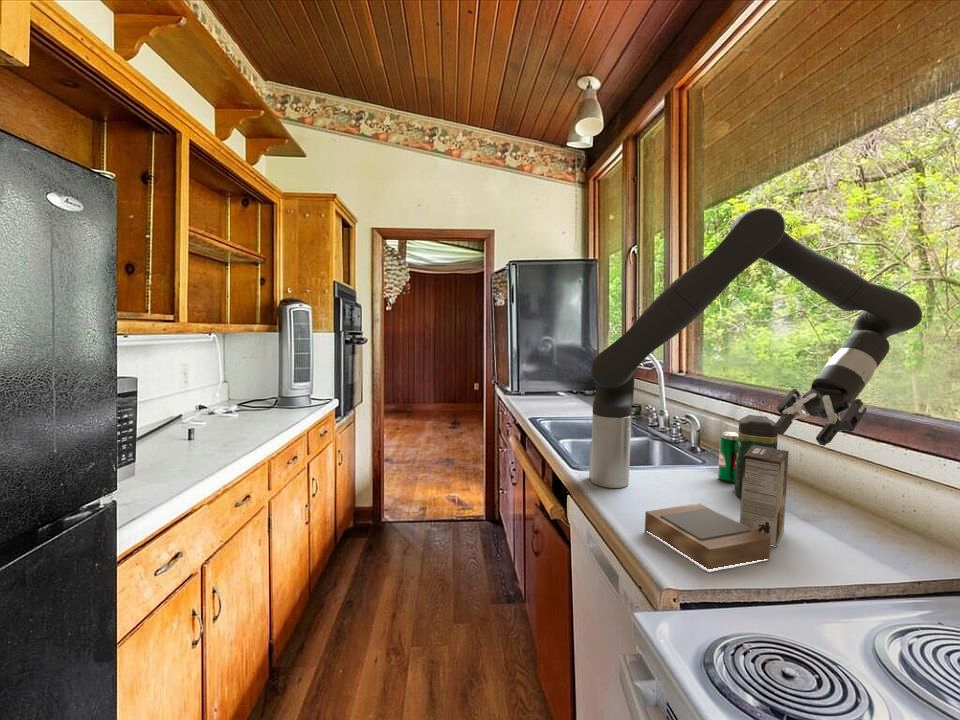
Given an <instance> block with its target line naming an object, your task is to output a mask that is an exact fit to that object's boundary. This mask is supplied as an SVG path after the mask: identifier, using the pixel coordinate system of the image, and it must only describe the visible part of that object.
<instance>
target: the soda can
mask: <svg viewBox="0 0 960 720" xmlns="http://www.w3.org/2000/svg"><path fill="white" fill-rule="evenodd" d="M737 447H738V432H734V431H724V432H722V433H721V435H720V437H719V450H718V451H719V454H718V467H717V468H718V472H717V473H718V474H717V477H718V479H719V480H721V482H725V483H731V484H735V476H736V462H737Z"/></svg>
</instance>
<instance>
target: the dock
mask: <svg viewBox="0 0 960 720" xmlns="http://www.w3.org/2000/svg"><path fill="white" fill-rule="evenodd" d="M644 520H645V523H644V531H645V530H646V531H648V532H650V533H652V534H653V535H655V536H657V537H659V538H660V539H662V540H663V541H665V542H667V543H668V544H670V545H671V546H673V547H674V548H676V549H677V550H679V551H680V552H682V553H683V554H685V555H687V556H688V557H690V558H691V559H693V560H694V561H696V562H698V563H699V564H701V565H703V566H704V567H706V568H707V569H713V568H718V567H724V566H729V565H735V564H740V563H746V562H752V561H757V560H764V559H769V560H770V553H771V552H770V549H771V546H770V538H769V537H767V536H765V535H763V534H761V533H759V532H757V531H755V530H753V529H751V528H749V527H747V526H745V525H743V524H741V523H740V521H739V522H738V521H737V520H735V519H733V518H730V517H728V516H726V515H725V514H722V513H720V512H718V511H716V510H714V509H712V508H710V507H708V506H706V505H704V504H702V503H693V504H686V505H679V506H674V507H672V506H671V507H665V508H659V509H653V510H646V511H645V519H644Z"/></svg>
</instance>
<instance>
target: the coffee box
mask: <svg viewBox="0 0 960 720" xmlns="http://www.w3.org/2000/svg"><path fill="white" fill-rule="evenodd" d="M788 467H789V450H786V449H785V450H784V449H778V448H777V449H775V448H770V447H764V446H757V445H752V446H751V448H750V449H749V450H748V451H747V452H746V453H745V455H744V464H743V481H742V497H740V498H741V499H740V500H741V501H740V514H739V516H740V517H739V523H741V524H743V525H745V526H747V527H749V528H751V529H753V530H755V531H757V532H759V533H761V534H763V535H765V536H767V537H769V538H770V545H773V546H777V547H778V545H777V544H779V543H780V540H781V538H782V536H783V533H784V530H785V517H786V516H785V514H786V501H787V500H786V499H787V485H788V469H789V468H788Z"/></svg>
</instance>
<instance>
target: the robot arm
mask: <svg viewBox="0 0 960 720" xmlns="http://www.w3.org/2000/svg"><path fill="white" fill-rule="evenodd" d="M759 259H762V260H763V261H766V262H768V263H769V264H772V265H773V266H775V267H777V268H779V269H781V270H782V271H783V272H786V273H787V274H788V275H790V276H791V277H793V278H794V279H796V280H798V281H799V282H800V283H802V284H803V285H805V286H806V287H807V288H808V289H810V290H811V291H813V293H816V294H817V295H819V296H821V298H823V299H824V300H826V301H827V302H829V303H831V304H832V305H834V306H835V307H837V308H839V309H841V310H842V311H845V312H853V311H861V313H859V315H858V316H857V317H856V319H855V321H854V323H853V325H852V327H851V331H850V332H849V337H848V338H847V339H846V340H845V342H844V343H843V344H842V346H841V347H840V348H839V349H838V350H837V352H836V353H835V354H833V356H831V358H830V359H829V360H828V361H827V362H826V364H825V365H824V367H823V368H822V369H821V370H820V372H819V373H818V374H817V375H816V376H815V378H814V380H813V381H812V383H811V386H810V389H809V390H807V391H806V392H805V393H804V392H800V391H798V389H797V388H792V389H791V390H790V391H789V392H788V393H787V395H786V396H785V397H784V398H783V399H782V400H781V401H780V402H779V404H778V405H777V406H776V410H777V411H778V413H779V414H780V415H781V416H780V417H779V418H778V420H777V421H776V422H775V423H776V424H775V426H774V427H775V430H776V431H777V433H778V435H784V434H785V433H786V431H787V430H788V429H789V428H790V426H792V423H793V422H794V421H796V420H798V419H799V418H803V419H804V418H806V417H808V416H812V417H819V418H822V419H824V420H825V419H826V420H828V423H825V425H824V426H823V428H822V429H821V430H820V431H819V433H818V434H817V435H816V437H815V440H816V442H817V443H818V444H819V445H820V446H822V447H824V446H826V445H828V444H829V443H831V442H832V441H833V439H834V437H836V435H837V434H838V433H841V432H842V431H847V432H849V433H851V432H854V430H855V428H856V427H857V426H858V424H859V423H860V421H861V420H862V418H863V417H864V415H865V413H866V411H867V410H868V409H867V407H866V406H865V404H864V402H863V401H862V400H861V398H858V396H859V395H860V394H861V393H862V391H863V390H864V388H865V387H866V386H867V384H868V383H869V382H870V381H871V380H872V378H873V376H874V375H875V371H876V370H877V369H878V368H879V366H880V365H881V364H882V362H883V360H884V359H885V357H886V356H887V354H888V353H889V351H890V347H891V346H890V343H889V342H890V341H889V340H888V338H890V337H891V336H893V335H894V336H895V335H897V334H900V333H903V332H907V331H909V330H912V329H914V328H915V327H917V326H919V324H920V323H921V322H922V319H923V311H922V309H921V307H920V305H919V304H918V303H917V301H915V300H914V299H913V298H912V297H910V296H909V295H906V294H905V293H902V292H900V291H897V290H895V289H891V288H889V287H886V286H884V285H880V284H877V283H873V282H870V281H868V279H865V278H864V277H863V276H861V275H859V274H858V273H856V272H855V271H854V270H851V269H850V268H849V267H847V266H845V265H844V264H841V263H840V262H838V261H836V260H835V259H832V258H830V257H828V256H826V255H824V254H823V253H822V254H821V253H820V252H817V251H816V250H814V249H812V248H810V247H807V246H806V245H804V243H801V242H799V241H798V240H796V239H795V238H793V237H792V236H791V235H790V234H788V233H787V232H786V223H785V219H784V217H783V215H782V213H780V212H779V210H777V209H774V208H771V207H757V208H752V209H749V210H747V211H745V212H743V213H741V214H739V215H738V216H737V217H736V218H735V219H734V220H733V222H732V223H731V226H730V228H729V233H728V234H727V235H726V236H725V237H724V239H723V240H722V241H721V242H720V243H719V244H718V245H717V246H716V247H715V248H714V250H712V251H711V252H710V253H709V254H708V255H706V256H705V257H704V258H703V259H702V260H700V261H699V262H698V263H696V264H695V265H694V266H692V267H690V268H689V269H687V270H686V271H685V272H683V273H682V274H681V275H680V276H679V277H677V278H676V279H675V280H674V281H673V282H672V283H670V284H669V286H667V287H666V288H665V289H664V290H663V291H662V292H661V293H660V294H659V295H658V296H657V297H656V299H655V300H653V302H652V303H650V305H649V306H647V308H646V309H645V310H644V312H643V313H641V314H640V316H639V317H638V319H637V320H636V321H635V322H634V324H632V325H631V327H630V328H628V330H627V331H626V332H624V334H623V335H621V336H620V337H619V338H618V339H616V340H615V341H613V343H612V344H610V345H609V346H607V347H606V348H605V349H603V350H602V351H601V352H599V353H598V354H597V355H596V356H595V357H594V359H593V360H592V363H591V368H590V371H591V372H590V374H591V377H592V380H593V381H594V382H595V383H596V387H595V395H594V399H593V403H592V419H591V420H592V421H591V423H592V424H591V425H592V427H591V440H590V442H589V468H588V469H589V471H588V473H589V474H588V477H589V479H590V482H591V483H592V484H594V485H596V486H599V487H603V488H609V489H610V488H611V489H621V488H625V487H627V486H628V485H629V481H630V461H631V460H630V459H631V458H630V456H631V440H632V439H631V435H632V433H631V432H632V408H633V403H634V395H635V394H634V393H635V392H634V391H635V377H636V376H635V375H636V374H635V373H636V371H635V370H637V368H638V367H639V366H640V365H641V364H642V363H643V362H644V361H645V360H646V359H647V358H648V356H650V355H651V354H652V353H653V352H654V351H655V350H657V349H658V348H660V347H661V346H662V345H664V344H665V343H666V342H668V341H670V340H671V339H672V338H674V337H676V335H678V334H679V333H680V332H681V331H683V330H684V329H686V327H688V326H689V325H690V324H691V323H692V322H693V321H694V320H695V319H696V318H698V317H699V316H700V315H701V314H702V313H703V312H704V311H705V310H706V309H707V308H708V307H709V306H710V305H711V304H712V303H713V302H714V301H715V300H716V299H717V298H718V297H719V296H720V295H721V294H722V292H723V291H725V290H726V288H727V287H728V285H730V284H731V283H732V282H733V281H734V280H735V279H736V278H737V277H738V276H739V275H741V273H742V272H744V271H745V270H747V269H748V268H749V267H750V266H752V265H753V264H754V263H755V262H756V261H758V260H759ZM802 407H804V410H803V409H802ZM846 410H847V411H846ZM845 411H846V412H845ZM842 412H845V414H844V415H843V417H842V418H841V416H840V413H842ZM827 418H828V419H827Z"/></svg>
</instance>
